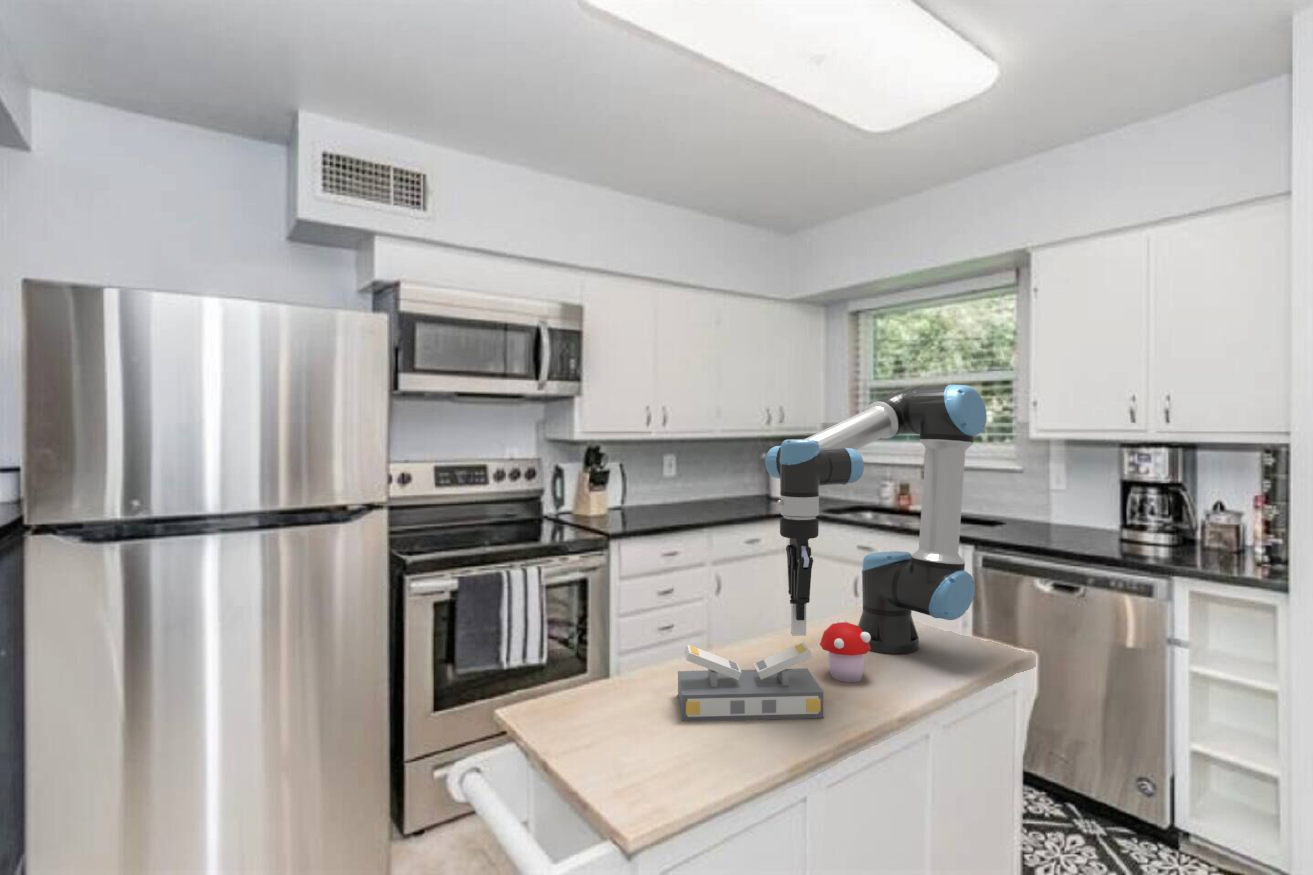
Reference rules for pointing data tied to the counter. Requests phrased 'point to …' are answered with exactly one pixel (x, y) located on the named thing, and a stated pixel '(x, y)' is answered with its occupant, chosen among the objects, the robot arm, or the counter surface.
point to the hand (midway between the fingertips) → (798, 634)
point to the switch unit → (749, 696)
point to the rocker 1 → (712, 662)
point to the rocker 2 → (782, 660)
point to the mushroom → (846, 650)
